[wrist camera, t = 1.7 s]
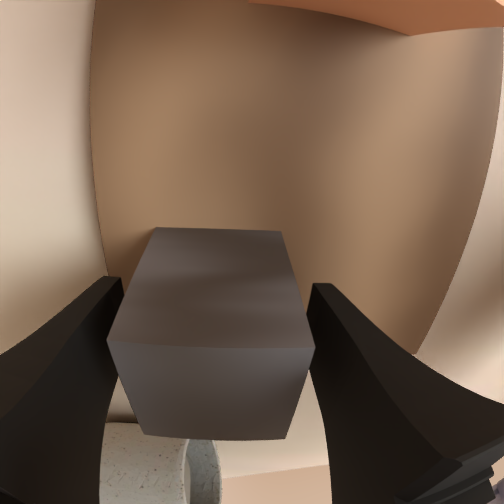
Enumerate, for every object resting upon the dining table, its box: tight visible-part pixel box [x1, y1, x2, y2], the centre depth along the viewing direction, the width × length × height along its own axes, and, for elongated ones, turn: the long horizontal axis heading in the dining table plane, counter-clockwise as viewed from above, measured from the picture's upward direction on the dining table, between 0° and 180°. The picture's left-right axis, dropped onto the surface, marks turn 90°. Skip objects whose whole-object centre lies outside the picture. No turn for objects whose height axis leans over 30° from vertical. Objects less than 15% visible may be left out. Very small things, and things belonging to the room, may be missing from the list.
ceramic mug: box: [99, 422, 222, 504], centre depth 16 cm, size 11×8×8 cm
